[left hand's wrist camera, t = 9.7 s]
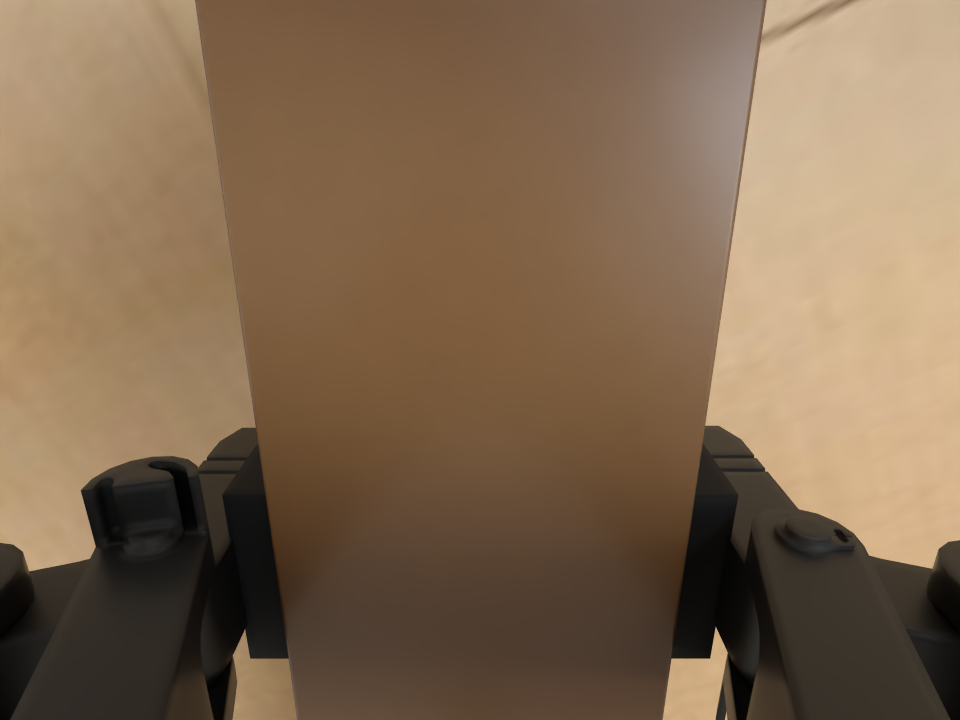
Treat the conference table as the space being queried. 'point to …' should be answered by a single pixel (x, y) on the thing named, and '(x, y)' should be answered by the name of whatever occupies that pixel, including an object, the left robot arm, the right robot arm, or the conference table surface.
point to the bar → (480, 333)
